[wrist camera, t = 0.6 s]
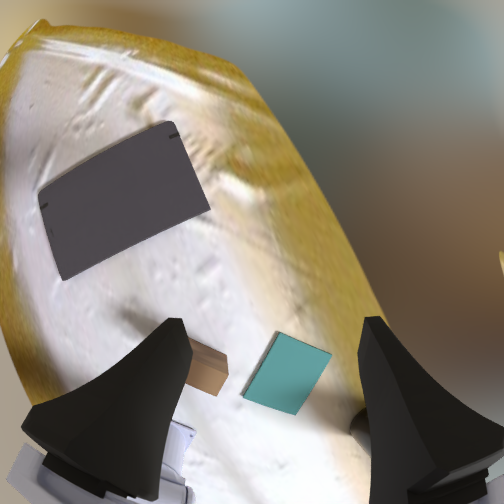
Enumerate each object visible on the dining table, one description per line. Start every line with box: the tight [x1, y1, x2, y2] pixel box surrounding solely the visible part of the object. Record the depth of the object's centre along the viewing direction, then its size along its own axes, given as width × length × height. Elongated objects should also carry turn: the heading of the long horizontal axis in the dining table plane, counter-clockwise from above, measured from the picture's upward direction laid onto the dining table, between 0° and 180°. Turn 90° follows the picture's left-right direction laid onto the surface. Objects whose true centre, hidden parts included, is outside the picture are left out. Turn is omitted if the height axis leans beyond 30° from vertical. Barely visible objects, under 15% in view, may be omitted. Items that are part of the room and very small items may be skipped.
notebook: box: [38, 121, 211, 281], centre depth 31 cm, size 13×2×21 cm
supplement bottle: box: [350, 408, 371, 458], centre depth 29 cm, size 7×7×12 cm
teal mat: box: [243, 332, 332, 415], centre depth 33 cm, size 10×8×1 cm
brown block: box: [185, 337, 229, 396], centre depth 29 cm, size 7×3×6 cm, turn 62°
